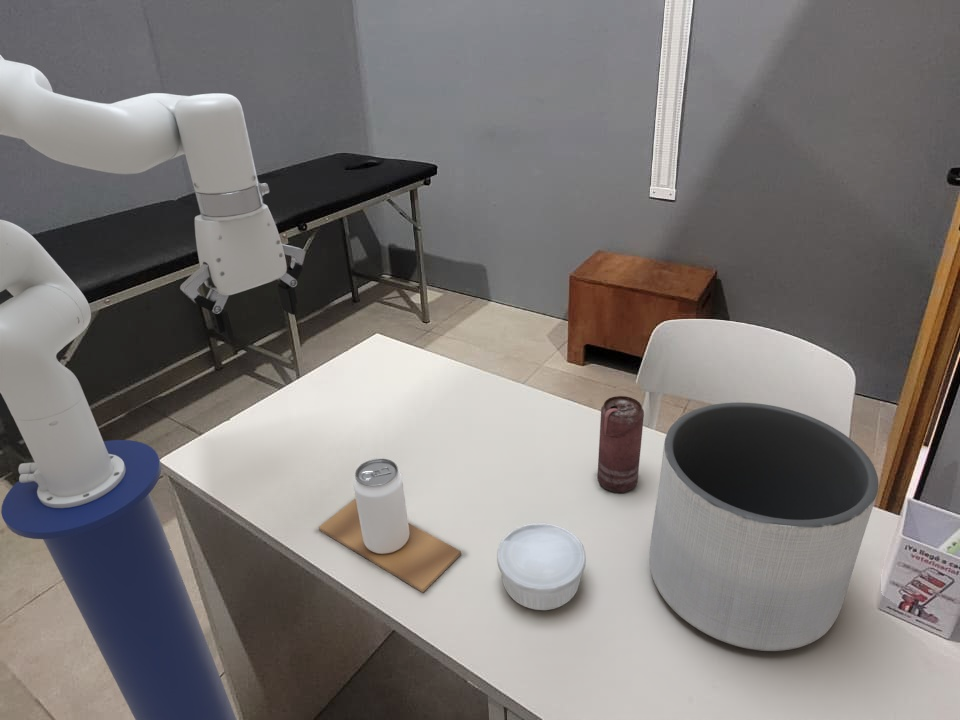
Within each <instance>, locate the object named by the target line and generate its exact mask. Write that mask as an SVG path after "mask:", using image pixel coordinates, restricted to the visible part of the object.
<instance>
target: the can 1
mask: <svg viewBox="0 0 960 720" xmlns="http://www.w3.org/2000/svg"><path fill="white" fill-rule="evenodd" d="M353 491H354V496H355V499H356V503H357V509H358V514H359V520H360V525H361V531H362V536H363V541H364V544H365V546H366V547H367V548H368V549H369V550H370V551H372V552H375V553H378V554H389V553H393V552H395V551H397V550H399V549H401V548H402V547H403V546H404V545H405V544H406V542H407V541H408V539H409V525H408V523H409V519H408V518H409V517H408V509H407V502H406V494H405V486H404V480H403V475H402V473H401V472H400V470H399V467H398V465H397V464H396V463H395V462H394V461H393V460H392V459H388V458H384V457H383V458H381V457H380V458H378V457H377V458H371V459H369V460H366V461H363V462H362V463H361V464H360V465H359V466H358V467H357V468H356V470H355V472H354V479H353Z"/></svg>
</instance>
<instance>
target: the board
mask: <svg viewBox="0 0 960 720" xmlns="http://www.w3.org/2000/svg"><path fill="white" fill-rule="evenodd" d="M408 525H409V539H408V541H407V542H406V544H405V545H404V546H403V547H402V548H401V549H399V550H397V551H395V552H393V553H389V554H378V553H375V552H372V551H370V550H369V549H368V548H367V547H366V546H365V544H364V541H363V536H362V531H361V525H360V520H359V514H358V509H357V503H356V498H354V499H353V500H351V501H350V502H349V503H347V505H345V506H344V507H342V508H341V509H340V510H339V511H337V512H336V513H335V514H333V515H332V516H331V517H329V519H327V520H326V521H324V522H323V523H322V524H321V525H319V526H318V530H319V531H320V532H321V533H323V534H325V535H327V536H328V537H329V538H331V539H333V540H335V541H337V542H338V543H340V544H341V545H343V546H345V547H346V548H347V549H350V550H351V551H353V552H354V553H357V554H358V555H360V556H361V557H363V558H364V559H366V560H368V561H370V562H372V564H375V565H376V566H378V567H379V568H381V569H383V570H384V571H386V572H387V573H389V574H391V575H392V576H395V577H396V578H398V579H399V580H401V581H403V582H404V583H406V584H408V586H411V587H412V588H414V589H416V590H417V591H419V592H421V593H425V592H426V591H427V590H428V589H429V588H430V586H431V585H433V584H434V583H435V581H436V580H437V579H439V578H440V576H441V575H443V574H444V573H445V571H446V570H448V569H449V567H450V566H451V565H452V564H453V563H454V562H455V561H456V560H457V559H458V558H459V557H460V556H461V555H462V551H461V550H460V549H458V548H456V547H454V546H452V545H450V544H449V543H447V542H445V541H443V540H441V539H439V538H437V537H436V536H433V535H432V534H430V533H428V532H426V531H424V530H422V529H421V528H418V527H416V526H415V525H413V524H411V523H409V522H408Z"/></svg>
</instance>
